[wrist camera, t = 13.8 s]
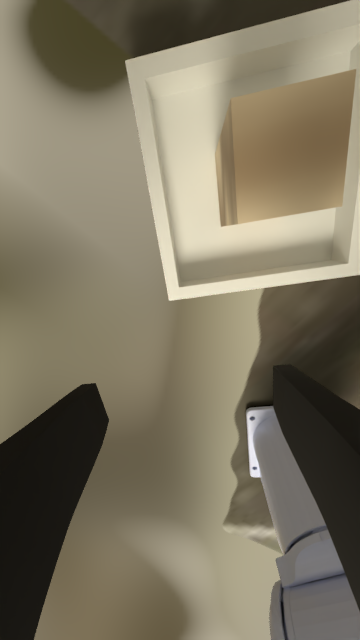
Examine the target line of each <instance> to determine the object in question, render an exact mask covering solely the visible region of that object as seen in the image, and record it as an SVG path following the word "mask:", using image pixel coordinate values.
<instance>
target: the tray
mask: <svg viewBox="0 0 360 640" xmlns="http://www.w3.org/2000/svg"><path fill="white" fill-rule="evenodd" d="M125 63H126V68H127V73H128V79H129V85H130V90H131V96H132V101H133V106H134V112H135V117H136V123H137V128H138V134H139V139H140V145H141V150H142V156H143V160H144V167H145V172H146V177H147V183H148V188H149V194H150V199H151V205H152V210H153V215H154V221H155V226H156V232H157V237H158V243H159V248H160V254H161V259H162V265H163V270H164V275H165V281H166V286H167V292H168V297H169V301H171V300H178V299H186V298H193V297H200V296H207V295H215V294H222V293H229V292H236V291H244V290H252V289H258V288H266V287H274V286H281V285H288V284H296V283H303V282H311V281H318V280H325V279H333V278H340V277H347V276H355V275H360V0H350V1H346V2H342V3H339V4H335V5H331V6H327V7H324V8H320V9H316V10H312V11H309V12H305V13H301V14H298V15H294V16H290V17H286V18H283V19H279V20H275V21H271V22H268V23H264V24H260V25H256V26H253V27H249V28H245V29H241V30H238V31H234V32H230V33H226V34H223V35H219V36H215V37H211V38H208V39H204V40H200V41H196V42H193V43H189V44H185V45H181V46H178V47H174V48H170V49H166V50H163V51H159V52H155V53H151V54H148V55H144V56H140V57H136V58H133V59H129V60H126V61H125ZM353 69H356V78H355V88H354V97H353V107H352V117H351V126H350V136H349V145H348V155H347V165H346V174H345V184H344V194H343V203H342V207H336V208H330V209H324V210H318V211H312V212H306V213H301V214H295V215H289V216H283V217H277V218H271V219H265V220H259V221H254V222H248V223H242V224H236V225H229V226H223V227H221V224H220V212H219V200H218V188H217V176H216V163H215V152H216V149H217V145H218V142H219V138H220V135H221V131H222V127H223V124H224V120H225V117H226V113H227V110H228V106H229V103H230V99H231V98H234V97H238V96H242V95H247V94H251V93H255V92H259V91H264V90H268V89H272V88H276V87H281V86H285V85H289V84H294V83H298V82H302V81H306V80H311V79H315V78H319V77H323V76H328V75H332V74H336V73H341V72H345V71H349V70H353Z"/></svg>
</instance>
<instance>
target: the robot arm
mask: <svg viewBox="0 0 360 640" xmlns="http://www.w3.org/2000/svg"><path fill="white" fill-rule="evenodd" d="M252 416H253V417H252ZM246 420H247V437H248V454H249V470H250V475H251V476H252V477H261V480H262V484H263V488H264V491H265V495H266V499H267V502H268V506H269V510H270V513H271V517H272V521H273V524H274V528H275V532H276V535H277V539H278V542H279V545H280V548H281V550H282V552H283V554H284V555H283V556H282V557H279V558H276V564H277V568H278V571H279V576H280V579H281V580H279V581H277V582H276V583H275V584H274V586H273V589H272V593H271V604H270V613H269V620H270V621H269V622H270V635H271V640H360V410H359V409H358V408H356V407H354V406H353V405H351V404H350V403H348V402H346V401H345V400H343V399H342V398H340V397H338V396H337V395H335V394H334V393H332V392H331V391H329V390H328V389H326V388H325V387H323V386H322V385H320V384H319V383H317V382H316V381H314V380H313V379H311V378H310V377H308V376H307V375H305V374H304V373H302V372H301V371H300V370H298V369H297V368H295V367H294V366H292V365H290V364H288V365H277V366H273V406H265V407H252V408H248V409H247V410H246ZM108 422H109V418H108V416H107V413H106V411H105V408H104V405H103V402H102V400H101V397H100V394H99V391H98V388H97V386H96V383H93V384H82V385H80V386H79V387H77V388H76V389H75V390H73V391H72V392H70V393H69V394H68V395H66V396H65V397H63V398H62V399H61V400H59V401H58V402H57V403H56V404H54V405H53V406H52V407H50V408H49V409H48V410H46V411H45V412H44V413H42V414H41V415H40V416H39V417H37V418H36V419H34V420H33V421H32V422H30V423H29V424H28V425H26V426H25V427H24V428H22V429H21V430H19V431H18V432H17V433H15V434H14V435H13V436H11V437H10V438H8V439H7V440H6V441H4V442H3V443H1V444H0V640H34V636H35V633H36V629H37V626H38V622H39V619H40V615H41V612H42V608H43V605H44V602H45V598H46V595H47V592H48V589H49V585H50V582H51V579H52V576H53V572H54V569H55V566H56V562H57V560H58V557H59V554H60V551H61V548H62V545H63V542H64V539H65V536H66V533H67V530H68V527H69V524H70V521H71V519H72V516H73V513H74V511H75V508H76V506H77V504H78V501H79V499H80V497H81V494H82V492H83V490H84V487H85V485H86V483H87V480H88V478H89V475H90V473H91V471H92V468H93V466H94V463H95V461H96V459H97V456H98V454H99V451H100V449H101V446H102V444H103V440H104V437H105V434H106V430H107V426H108Z"/></svg>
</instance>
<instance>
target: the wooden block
mask: <svg viewBox="0 0 360 640" xmlns="http://www.w3.org/2000/svg"><path fill="white" fill-rule="evenodd" d="M355 78H356V69H353V70H349V71H345V72H341V73H336V74H332V75H328V76H323V77H319V78H315V79H311V80H306V81H302V82H298V83H294V84H289V85H285V86H281V87H276V88H272V89H268V90H264V91H259V92H255V93H251V94H247V95H242V96H238V97H234V98H231V99H230V103H229V106H228V110H227V113H226V117H225V120H224V124H223V127H222V131H221V135H220V138H219V142H218V145H217V149H216V152H215V163H216V176H217V188H218V200H219V212H220V224H221V227H223V226H229V225H236V224H242V223H248V222H254V221H259V220H265V219H271V218H277V217H283V216H289V215H295V214H301V213H306V212H312V211H318V210H324V209H330V208H336V207H342V203H343V194H344V184H345V174H346V165H347V155H348V145H349V136H350V126H351V117H352V107H353V97H354V88H355Z"/></svg>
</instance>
